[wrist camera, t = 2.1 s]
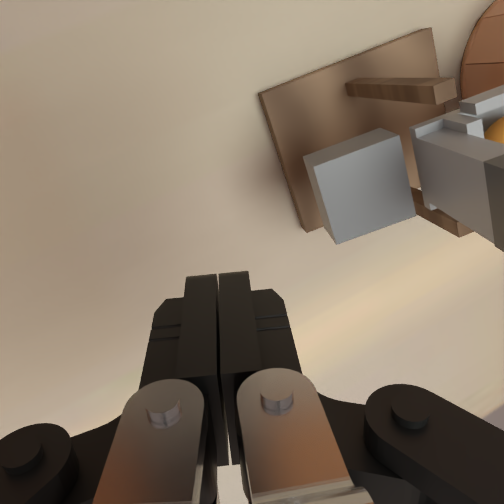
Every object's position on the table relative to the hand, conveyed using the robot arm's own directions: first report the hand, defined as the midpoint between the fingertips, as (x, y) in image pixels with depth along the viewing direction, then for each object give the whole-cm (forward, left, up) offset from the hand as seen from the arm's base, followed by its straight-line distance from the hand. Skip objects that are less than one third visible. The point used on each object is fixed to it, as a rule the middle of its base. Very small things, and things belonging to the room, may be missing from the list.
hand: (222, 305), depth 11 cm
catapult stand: (-5, +14, -27) cm, 31 cm away
